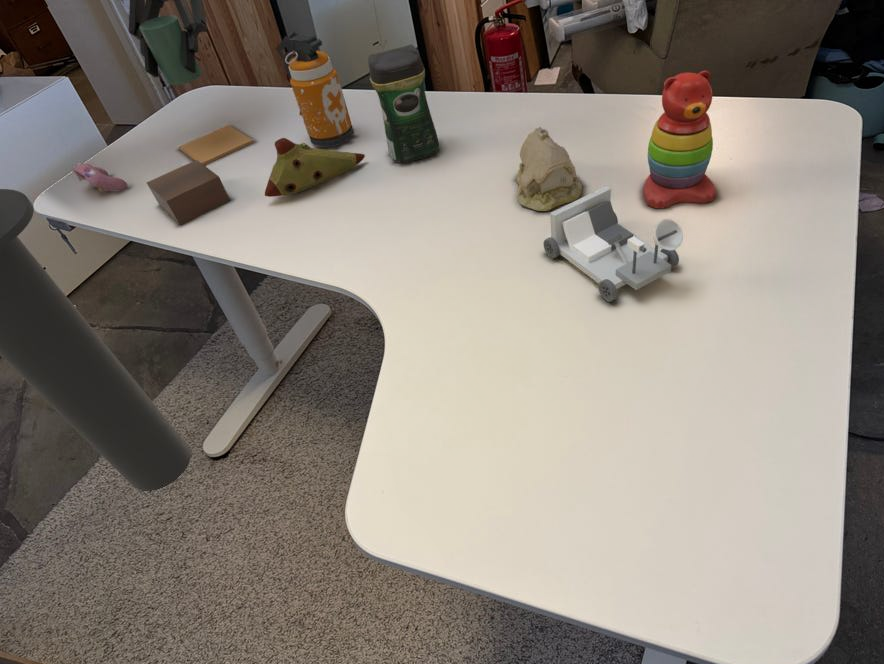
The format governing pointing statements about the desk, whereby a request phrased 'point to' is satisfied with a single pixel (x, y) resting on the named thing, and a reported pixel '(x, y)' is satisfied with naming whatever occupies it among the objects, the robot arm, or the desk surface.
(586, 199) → the toy car
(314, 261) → the desk surface
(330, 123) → the canister
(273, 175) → the ocarina
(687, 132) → the stacking bear
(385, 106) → the coffee jar
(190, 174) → the riser
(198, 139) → the cork mat
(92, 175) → the pink animal figurine
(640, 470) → the desk surface
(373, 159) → the desk surface
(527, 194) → the ceramic model
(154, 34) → the green cylinder
